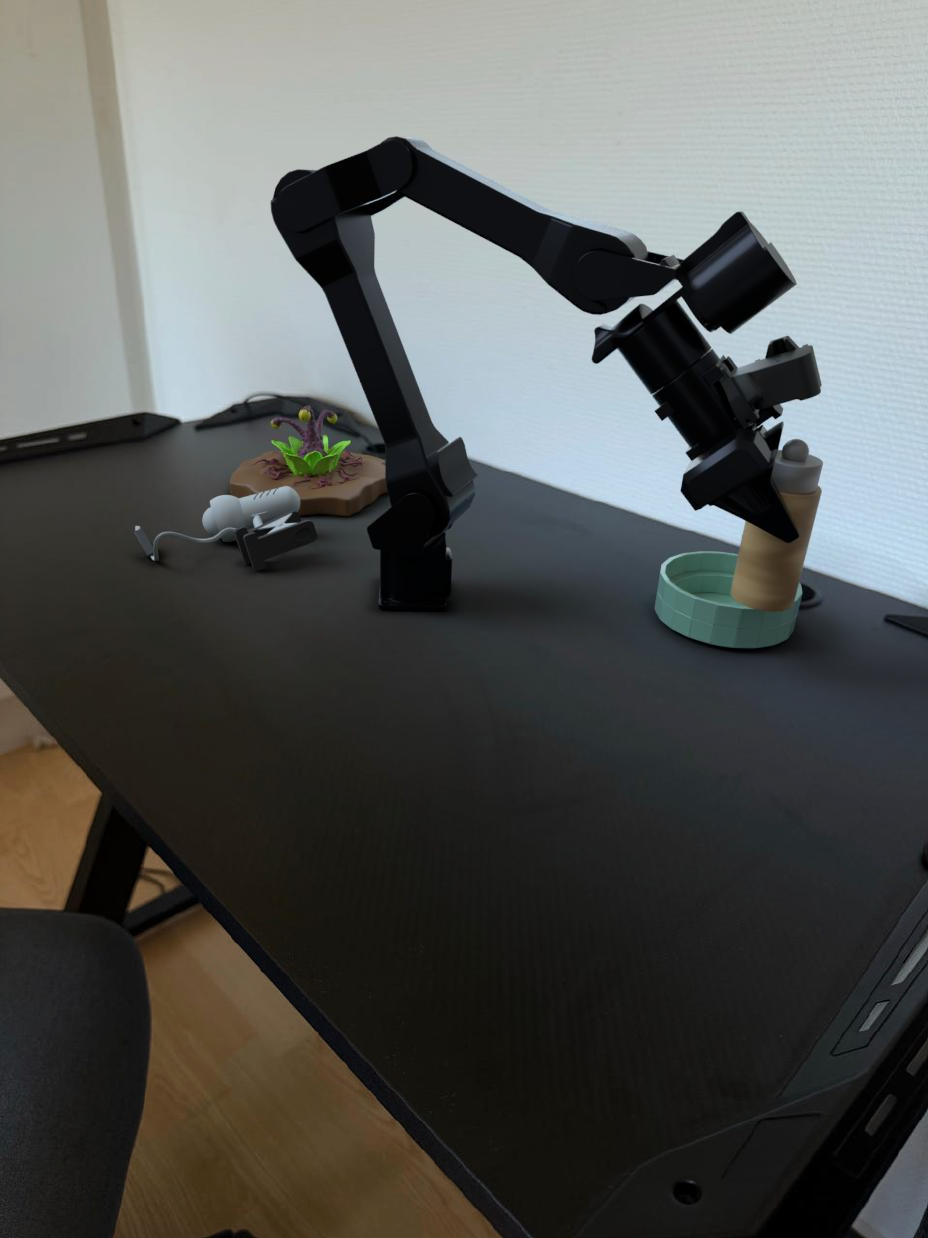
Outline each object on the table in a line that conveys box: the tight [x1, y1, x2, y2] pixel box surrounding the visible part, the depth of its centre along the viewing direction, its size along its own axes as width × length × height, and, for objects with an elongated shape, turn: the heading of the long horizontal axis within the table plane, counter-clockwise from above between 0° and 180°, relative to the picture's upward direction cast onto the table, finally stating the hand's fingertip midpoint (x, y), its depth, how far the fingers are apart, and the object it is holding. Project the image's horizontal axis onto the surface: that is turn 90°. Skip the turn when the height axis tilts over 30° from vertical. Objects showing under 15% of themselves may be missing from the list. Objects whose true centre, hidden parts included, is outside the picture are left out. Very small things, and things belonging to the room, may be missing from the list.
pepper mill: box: [730, 438, 824, 612], centre depth 72 cm, size 5×5×14 cm
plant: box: [229, 404, 388, 518], centre depth 112 cm, size 20×20×11 cm
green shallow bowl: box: [654, 550, 803, 649], centre depth 86 cm, size 13×13×4 cm
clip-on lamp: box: [133, 486, 318, 572], centre depth 95 cm, size 12×6×18 cm
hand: (795, 528), depth 72 cm, fingers closed on pepper mill, 5 cm apart
